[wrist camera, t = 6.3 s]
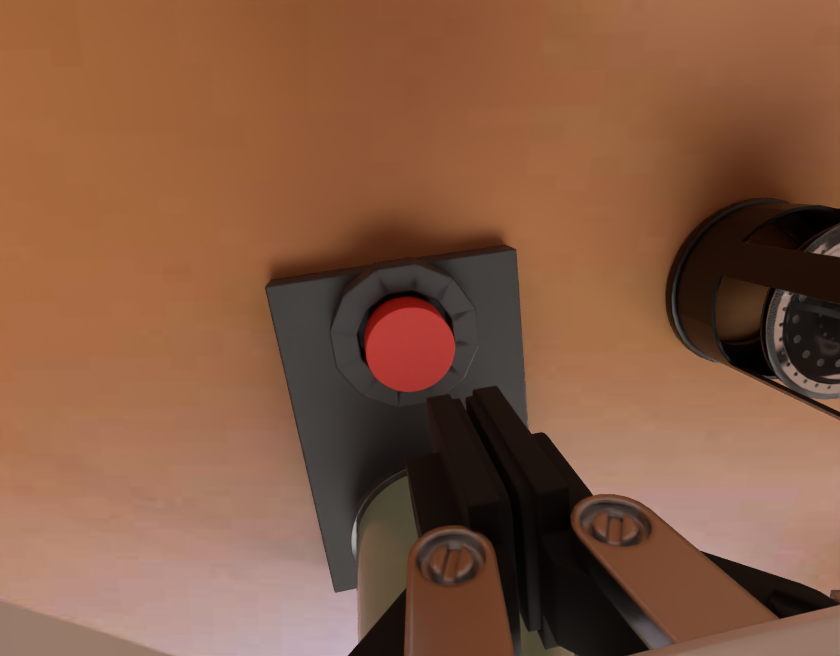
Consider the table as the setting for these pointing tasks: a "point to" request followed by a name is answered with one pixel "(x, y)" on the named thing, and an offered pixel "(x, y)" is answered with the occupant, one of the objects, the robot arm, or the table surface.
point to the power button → (408, 344)
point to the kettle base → (363, 393)
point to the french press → (785, 301)
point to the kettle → (396, 555)
